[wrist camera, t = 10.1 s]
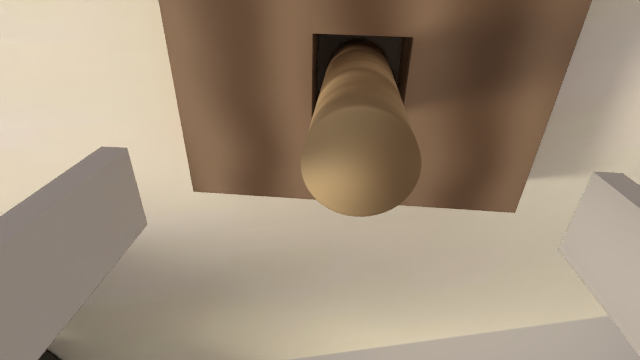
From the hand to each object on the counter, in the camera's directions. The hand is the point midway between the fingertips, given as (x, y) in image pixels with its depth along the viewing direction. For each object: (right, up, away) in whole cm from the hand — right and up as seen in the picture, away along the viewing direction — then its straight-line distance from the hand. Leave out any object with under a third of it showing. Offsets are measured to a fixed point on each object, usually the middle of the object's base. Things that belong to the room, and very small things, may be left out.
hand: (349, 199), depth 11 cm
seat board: (+2, +8, +13) cm, 16 cm away
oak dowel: (+2, +8, +13) cm, 16 cm away
